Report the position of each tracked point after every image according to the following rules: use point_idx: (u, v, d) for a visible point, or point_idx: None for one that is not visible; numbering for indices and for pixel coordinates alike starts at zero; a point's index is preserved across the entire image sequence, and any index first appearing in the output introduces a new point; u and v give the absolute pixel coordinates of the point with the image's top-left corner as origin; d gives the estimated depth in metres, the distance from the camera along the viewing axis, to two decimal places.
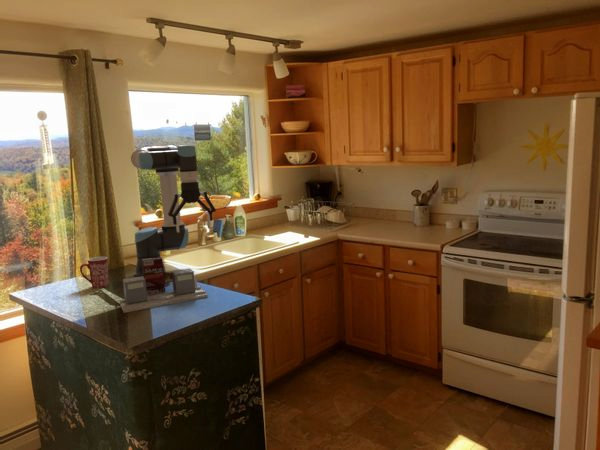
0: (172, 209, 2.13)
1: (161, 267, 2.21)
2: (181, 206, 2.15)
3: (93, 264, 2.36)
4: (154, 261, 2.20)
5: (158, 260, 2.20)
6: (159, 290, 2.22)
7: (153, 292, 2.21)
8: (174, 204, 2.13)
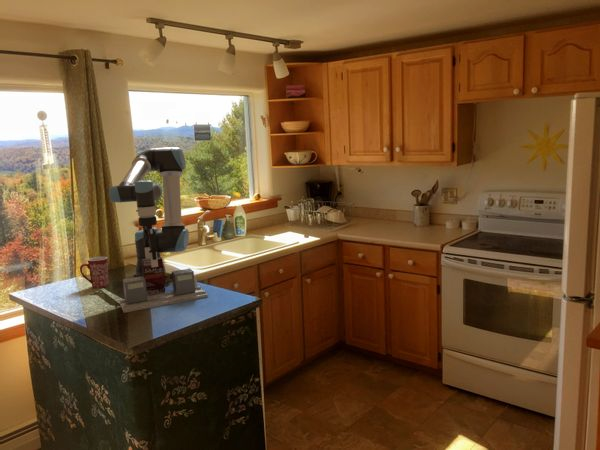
0: (143, 239, 2.27)
1: (161, 267, 2.21)
2: (144, 238, 2.23)
3: (93, 264, 2.36)
4: None
5: (158, 260, 2.20)
6: (159, 290, 2.22)
7: (153, 292, 2.21)
8: (143, 235, 2.26)
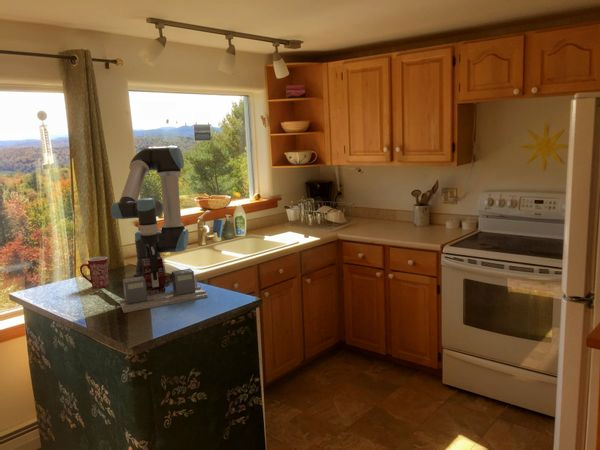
0: None
1: (161, 267, 2.21)
2: None
3: (93, 264, 2.36)
4: None
5: (158, 260, 2.20)
6: (159, 290, 2.22)
7: (153, 292, 2.21)
8: (146, 255, 2.26)
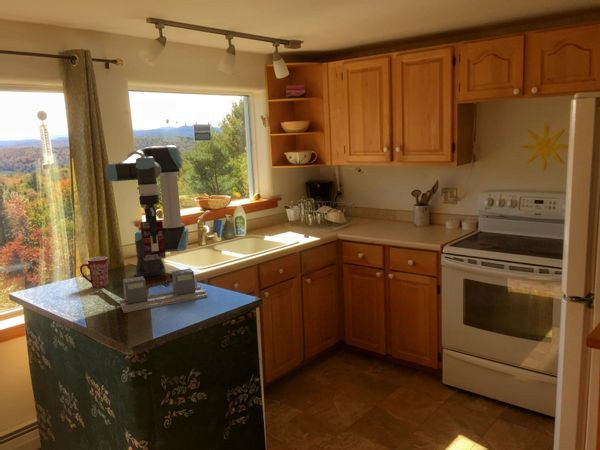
0: None
1: (161, 230, 2.09)
2: None
3: (93, 264, 2.36)
4: None
5: (158, 222, 2.08)
6: (159, 255, 2.10)
7: (152, 257, 2.09)
8: (146, 219, 2.14)
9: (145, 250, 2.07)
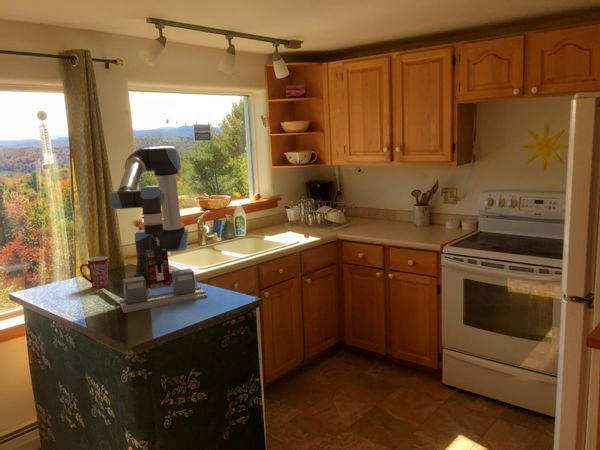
0: None
1: (166, 259, 2.08)
2: None
3: (93, 264, 2.36)
4: None
5: (163, 251, 2.07)
6: (164, 283, 2.09)
7: (157, 286, 2.08)
8: (150, 247, 2.13)
9: (150, 279, 2.07)
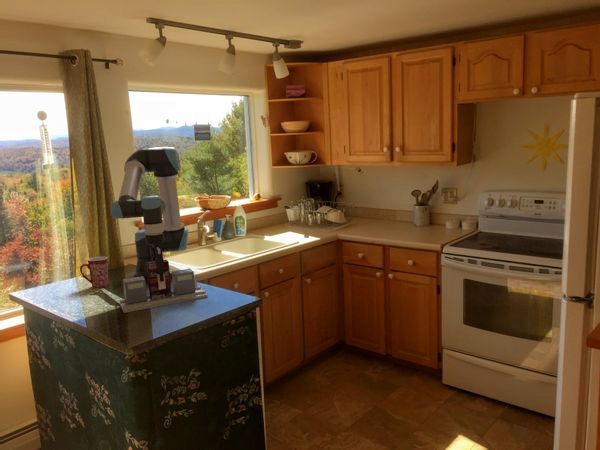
0: (151, 259, 2.15)
1: (167, 270, 2.09)
2: (152, 258, 2.12)
3: (93, 264, 2.36)
4: None
5: (164, 263, 2.08)
6: (165, 295, 2.10)
7: (158, 297, 2.09)
8: None
9: (152, 291, 2.07)
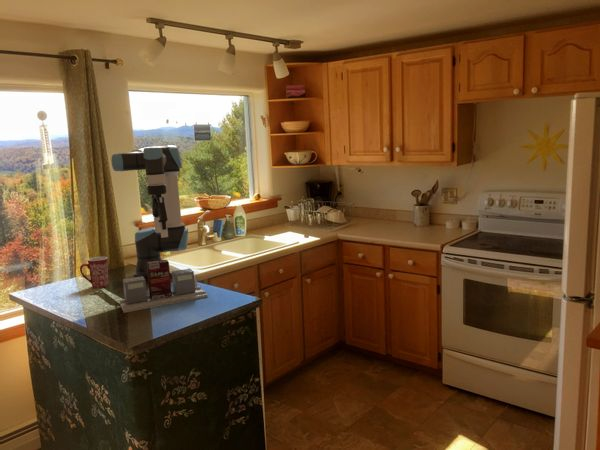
0: (152, 209, 2.18)
1: (167, 270, 2.09)
2: (154, 208, 2.15)
3: (93, 264, 2.36)
4: (160, 264, 2.07)
5: (164, 263, 2.08)
6: (165, 295, 2.10)
7: (158, 297, 2.09)
8: (152, 204, 2.17)
9: (152, 291, 2.07)
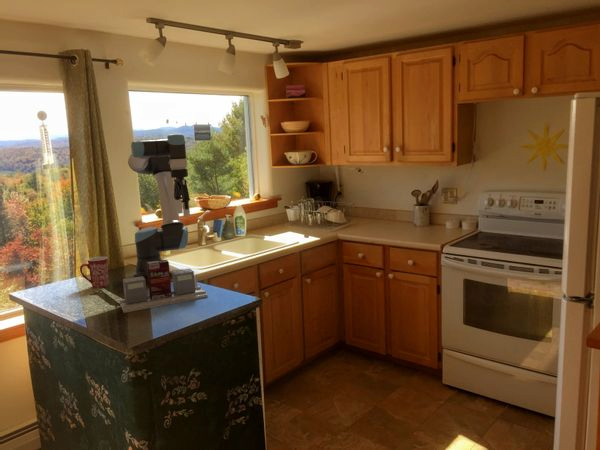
0: (174, 192, 2.37)
1: (167, 270, 2.09)
2: (176, 190, 2.33)
3: (93, 264, 2.36)
4: (160, 264, 2.07)
5: (164, 263, 2.08)
6: (165, 295, 2.10)
7: (158, 297, 2.09)
8: (174, 188, 2.35)
9: (152, 291, 2.07)
